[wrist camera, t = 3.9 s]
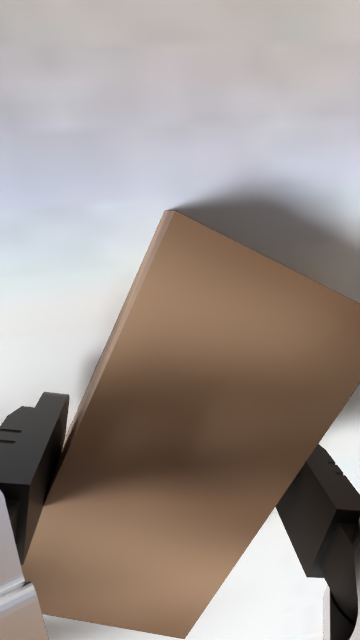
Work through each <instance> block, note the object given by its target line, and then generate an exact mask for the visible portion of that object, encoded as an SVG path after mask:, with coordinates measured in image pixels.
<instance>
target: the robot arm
mask: <svg viewBox="0 0 360 640" xmlns="http://www.w3.org/2000/svg"><path fill="white" fill-rule="evenodd" d="M68 406H69V395H67V394H59V393H50V392H44V393H43V394H42V396H41V398H40V399H39V401H38V403H37V405H36V407H35V408H33V407H24V406H22V407H20V408H19V409H17V410H16V411H14V412H13V413H11V414H10V415H8V416H7V417H6V419H5V420H4V422H3V423H2V425H1V426H0V640H49V639H48V635H47V631H46V628H45V624H44V620H43V616H42V612H41V609H40V605H39V601H38V597H37V594H36V591H35V588H34V586H33V584H32V583H31V582H30V581H29V582H27V583H26V582H25V579H24V576H23V573H22V569H21V565H23V564H24V562H25V559H26V556H27V553H28V550H29V547H30V544H31V541H32V538H33V535H34V533H35V530H36V527H37V524H38V521H39V518H40V515H41V512H42V509H43V506H44V503H45V500H46V497H47V494H48V491H49V488H50V485H51V482H52V479H53V476H54V474H55V471H56V468H57V465H58V462H59V459H60V456H61V453H62V449H63V445H64V439H65V432H66V423H67V415H68ZM275 507H276V509H277V511H278V513H279V516H280V518H281V520H282V522H283V525H284V527H285V529H286V531H287V534H288V536H289V538H290V540H291V543H292V545H293V547H294V549H295V552H296V554H297V556H298V558H299V561H300V563H301V565H302V568H303V570H304V572H305V574H306V577H315V578H325V580H326V582H327V584H328V586H327V588H326V590H325V592H324V597H323V640H360V494H359V493H358V492H357V491H356V489H355V488H354V487H353V485H352V484H351V483H350V481H349V480H348V479H347V477H346V476H344V475H343V472H342V471H341V469H340V468H339V467H338V466H337V465H335V462H334V460H333V459H332V458H331V456H330V455H329V454H328V452H327V451H326V450H325V449H324V448H323V447H321V446H320V445H319V444H318V445H317V446H316V448H315V449H314V451H313V452H312V454H311V455H310V456H309V458H308V459H307V461H305V464H304V465H303V467H302V468H301V470H300V471H299V473H298V474H297V475H296V477H295V478H294V480H293V481H292V483H291V484H290V486H289V487H288V489H287V490H286V491H285V493H284V494H283V496H282V497H281V499H280V500H279V502H278V503H277V505H276V506H275Z"/></svg>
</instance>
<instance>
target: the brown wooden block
mask: <svg viewBox="0 0 360 640" xmlns="http://www.w3.org/2000/svg"><path fill="white" fill-rule="evenodd" d="M359 383H360V304H359V303H357V302H355V301H353V300H351V299H349V298H347V297H345V296H343V295H341V294H339V293H337V292H335V291H333V290H331V289H329V288H327V287H325V286H323V285H321V284H319V283H317V282H315V281H314V280H312V279H310V278H308V277H306V276H304V275H302V274H300V273H298V272H296V271H294V270H292V269H290V268H288V267H286V266H284V265H282V264H280V263H278V262H276V261H274V260H272V259H270V258H268V257H266V256H264V255H262V254H260V253H258V252H256V251H254V250H252V249H250V248H248V247H246V246H244V245H242V244H240V243H238V242H236V241H234V240H232V239H230V238H228V237H226V236H224V235H222V234H220V233H218V232H216V231H214V230H212V229H210V228H208V227H206V226H204V225H202V224H201V223H199V222H197V221H195V220H193V219H191V218H189V217H187V216H185V215H183V214H181V213H179V212H177V211H164V213H163V216H162V218H161V220H160V223H159V225H158V227H157V229H156V232H155V234H154V236H153V239H152V241H151V243H150V245H149V248H148V250H147V252H146V255H145V257H144V259H143V261H142V264H141V266H140V268H139V271H138V273H137V275H136V277H135V280H134V282H133V284H132V287H131V289H130V291H129V293H128V296H127V298H126V300H125V302H124V305H123V307H122V309H121V312H120V314H119V316H118V318H117V321H116V323H115V325H114V328H113V330H112V332H111V334H110V337H109V339H108V341H107V344H106V346H105V348H104V350H103V353H102V355H101V357H100V360H99V362H98V364H97V366H96V369H95V371H94V373H93V376H92V378H91V380H90V382H89V385H88V387H87V389H86V392H85V394H84V396H83V398H82V401H81V403H80V405H79V408H78V410H77V412H76V414H75V417H74V419H73V421H72V424H71V426H70V428H69V430H68V433H67V435H66V437H65V440H64V445H63V449H62V453H61V456H60V459H59V462H58V465H57V468H56V471H55V474H54V476H53V479H52V482H51V485H50V488H49V491H48V494H47V497H46V500H45V503H44V506H43V509H42V512H41V515H40V518H39V521H38V524H37V527H36V530H35V533H34V535H33V538H32V541H31V544H30V547H29V550H28V553H27V556H26V559H25V562H24V564H23V565H21V569H22V573H23V576H24V579H25V582H26V583H27V582H29V581H30V582H31V583H32V584H33V586H34V588H35V591H36V594H37V597H38V601H39V605H40V609H41V612H42V614H45V615H51V616H56V617H62V618H68V619H73V620H79V621H85V622H91V623H96V624H102V625H108V626H113V627H119V628H125V629H130V630H136V631H142V632H147V633H153V634H159V635H164V636H170V637H176V638H181V639H185V637H186V636H187V635H188V633H189V632H190V630H191V629H192V627H193V626H194V624H195V623H196V621H197V620H198V619H199V617H200V616H201V614H202V613H203V611H204V610H205V608H206V607H207V605H208V604H209V602H210V601H211V600H212V598H213V597H214V595H215V594H216V592H217V591H218V589H219V588H220V586H221V585H222V583H223V582H224V581H225V579H226V578H227V576H228V575H229V573H230V572H231V570H232V569H233V567H234V566H235V564H236V563H237V562H238V560H239V559H240V557H241V556H242V554H243V553H244V551H245V550H246V548H247V547H248V546H249V544H250V543H251V541H252V540H253V538H254V537H255V535H256V534H257V532H258V531H259V529H260V528H261V527H262V525H263V524H264V522H265V521H266V519H267V518H268V516H269V515H270V513H271V512H272V510H273V509H274V508H275V506H276V505H277V503H278V502H279V500H280V499H281V497H282V496H283V494H284V493H285V491H286V490H287V489H288V487H289V486H290V484H291V483H292V481H293V480H294V478H295V477H296V475H297V474H298V473H299V471H300V470H301V468H302V467H303V465H304V464H305V461H307V459H308V458H309V456H310V455H311V454H312V452H313V451H314V449H315V448H316V446H317V445H318V443H319V442H320V440H321V439H322V437H323V436H324V435H325V433H326V432H327V430H328V429H329V427H330V426H331V424H332V423H333V421H334V420H335V418H336V417H337V416H338V414H339V413H340V411H341V410H342V408H343V407H344V405H345V404H346V402H347V401H348V400H349V398H350V397H351V395H352V394H353V392H354V391H355V389H356V388H357V386H358V385H359Z"/></svg>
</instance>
